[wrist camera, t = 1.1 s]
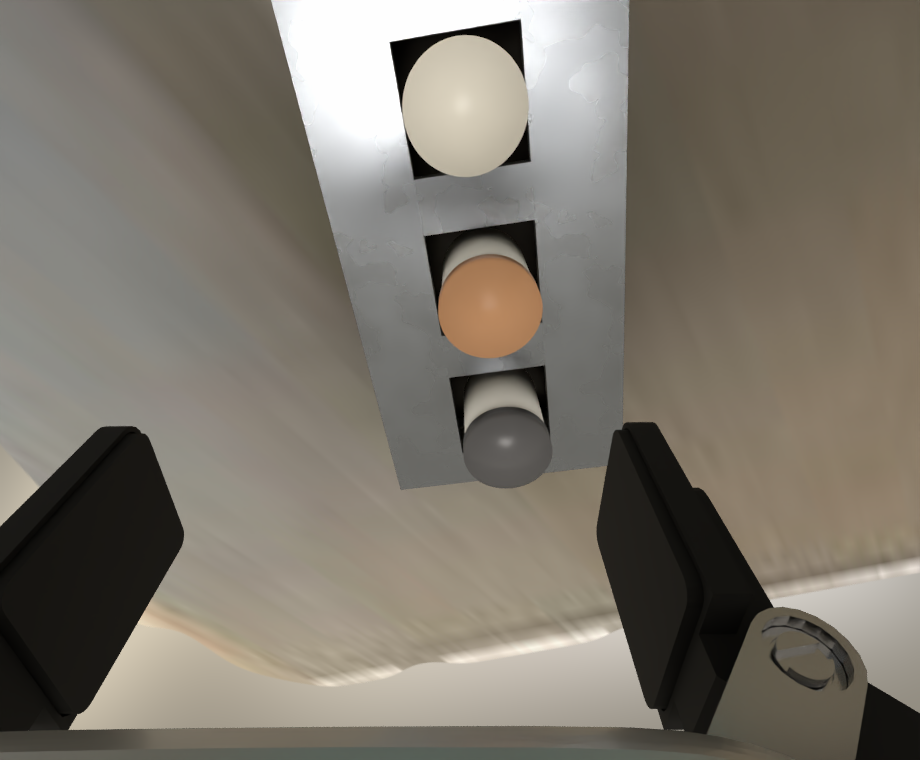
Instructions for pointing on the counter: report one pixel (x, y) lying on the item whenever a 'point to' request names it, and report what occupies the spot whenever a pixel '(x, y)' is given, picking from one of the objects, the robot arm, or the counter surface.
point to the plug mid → (488, 295)
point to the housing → (474, 212)
